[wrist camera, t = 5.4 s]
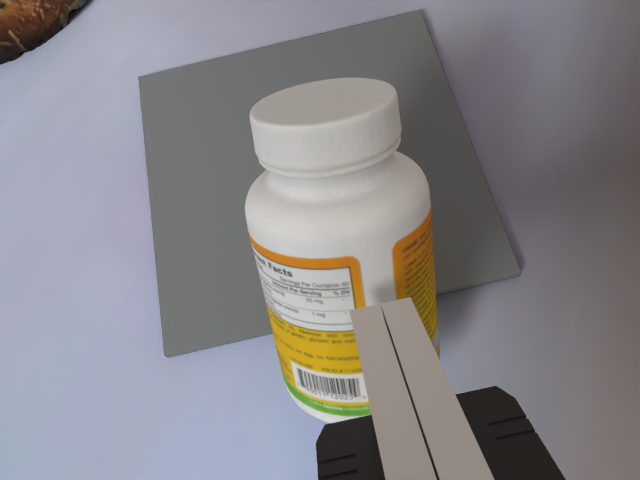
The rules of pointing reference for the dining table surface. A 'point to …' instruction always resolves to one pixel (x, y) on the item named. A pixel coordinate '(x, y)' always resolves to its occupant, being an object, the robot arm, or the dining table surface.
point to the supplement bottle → (336, 232)
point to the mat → (244, 168)
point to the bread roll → (31, 23)
